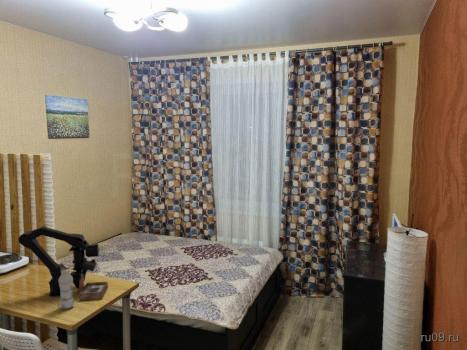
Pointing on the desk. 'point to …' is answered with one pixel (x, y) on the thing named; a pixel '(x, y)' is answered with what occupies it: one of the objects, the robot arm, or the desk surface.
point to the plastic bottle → (66, 289)
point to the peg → (81, 284)
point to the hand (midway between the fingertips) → (80, 284)
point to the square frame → (93, 291)
